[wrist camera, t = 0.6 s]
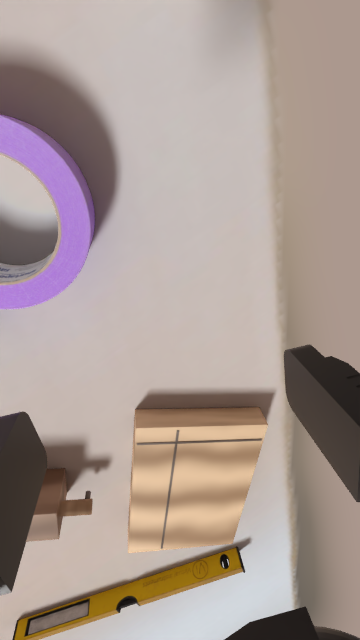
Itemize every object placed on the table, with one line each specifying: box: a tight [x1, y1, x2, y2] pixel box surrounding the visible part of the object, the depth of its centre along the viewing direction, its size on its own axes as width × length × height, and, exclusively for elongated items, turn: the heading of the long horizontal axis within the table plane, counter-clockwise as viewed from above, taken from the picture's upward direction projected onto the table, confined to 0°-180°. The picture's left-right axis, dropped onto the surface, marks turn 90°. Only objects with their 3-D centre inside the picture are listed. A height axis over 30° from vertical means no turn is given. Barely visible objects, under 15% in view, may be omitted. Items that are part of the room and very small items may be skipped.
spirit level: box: [13, 547, 245, 640], centre depth 46 cm, size 33×1×3 cm, turn 108°
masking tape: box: [0, 114, 95, 309], centre depth 21 cm, size 12×12×4 cm
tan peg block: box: [26, 468, 92, 542], centre depth 33 cm, size 4×13×5 cm, turn 84°
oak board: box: [128, 407, 268, 553], centre depth 37 cm, size 20×13×3 cm, turn 174°
